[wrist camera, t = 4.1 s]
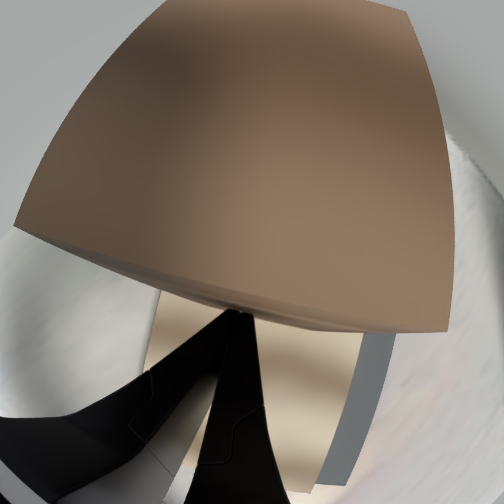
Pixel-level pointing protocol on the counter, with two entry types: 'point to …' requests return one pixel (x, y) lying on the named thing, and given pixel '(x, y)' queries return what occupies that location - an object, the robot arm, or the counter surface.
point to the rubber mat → (358, 408)
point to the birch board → (276, 383)
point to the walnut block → (262, 166)
